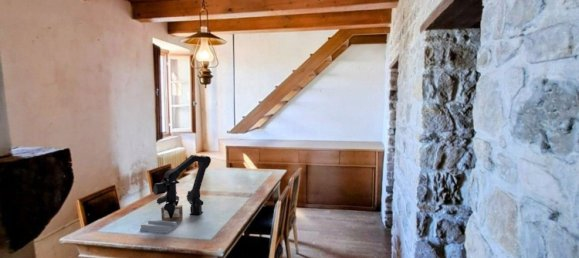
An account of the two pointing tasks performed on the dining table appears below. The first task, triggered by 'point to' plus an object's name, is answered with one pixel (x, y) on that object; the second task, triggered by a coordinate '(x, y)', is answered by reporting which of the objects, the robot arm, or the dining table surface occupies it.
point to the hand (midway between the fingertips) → (172, 215)
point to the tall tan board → (176, 216)
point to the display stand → (159, 226)
